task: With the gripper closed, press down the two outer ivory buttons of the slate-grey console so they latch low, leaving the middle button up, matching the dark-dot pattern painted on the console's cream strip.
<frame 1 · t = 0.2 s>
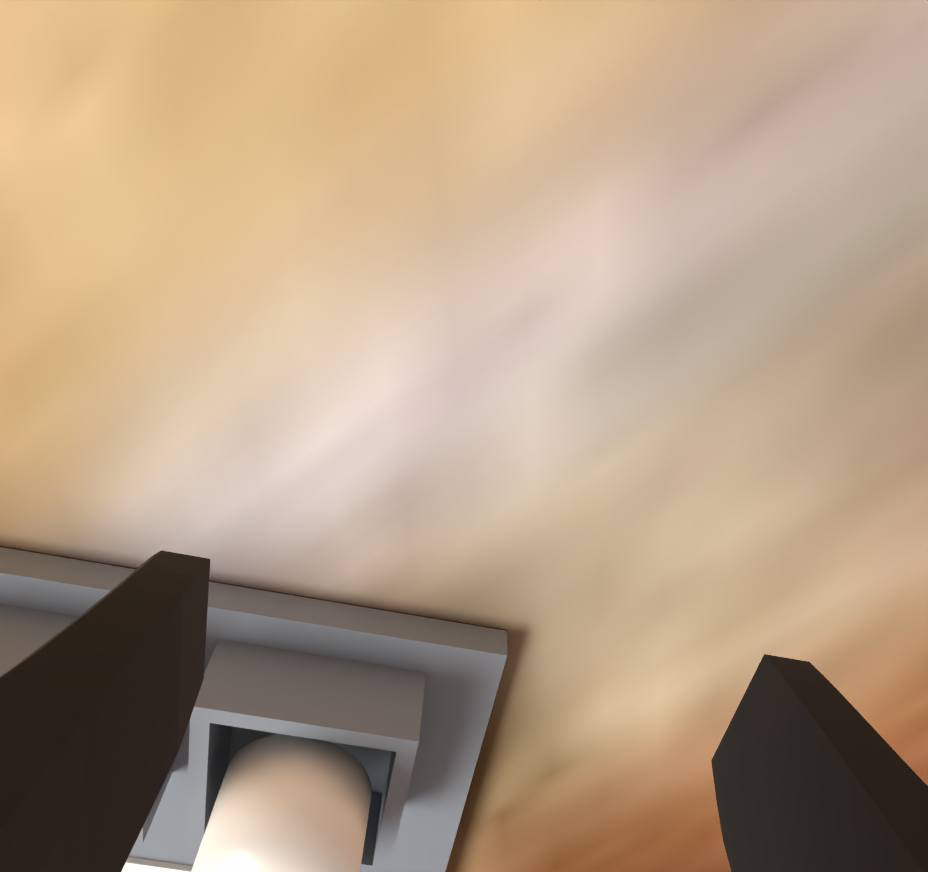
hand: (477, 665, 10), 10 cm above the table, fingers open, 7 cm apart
button 1: (286, 835, 21), point 5 cm above the table, slide at 0.0 cm
console: (94, 775, 27), on the table
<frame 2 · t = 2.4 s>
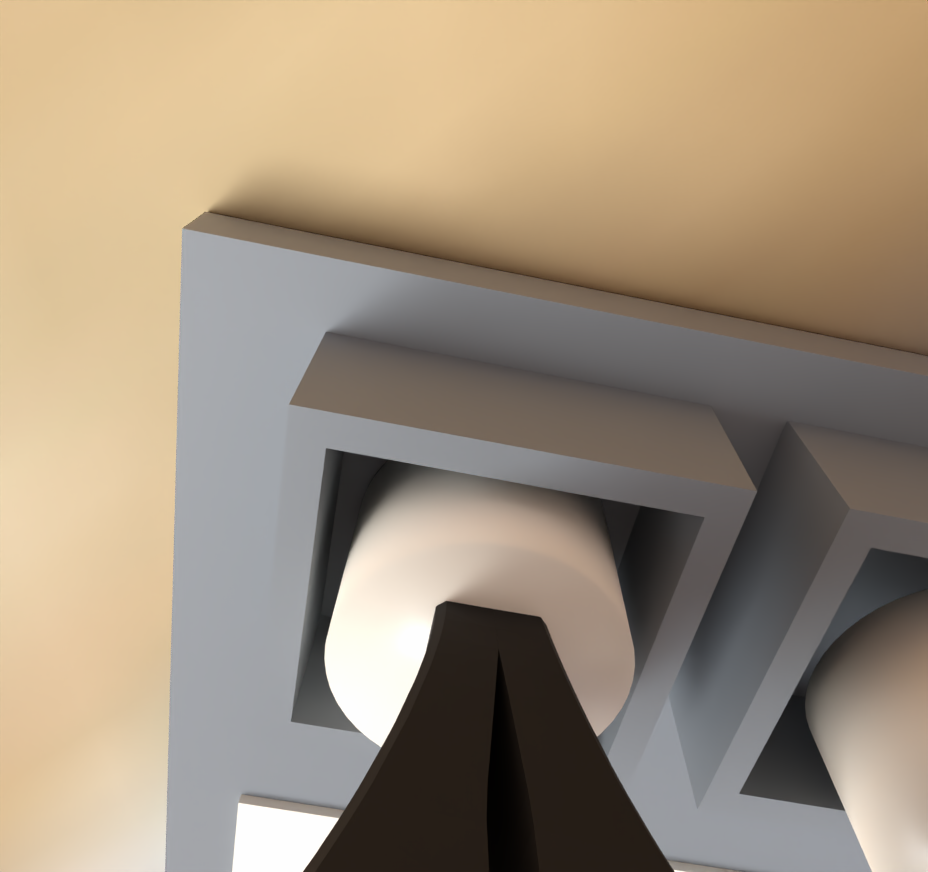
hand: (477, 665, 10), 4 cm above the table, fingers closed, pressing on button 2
console: (761, 752, 17), on the table
button 2: (480, 594, 12), point 3 cm above the table, slide at 1.8 cm, touching gripper
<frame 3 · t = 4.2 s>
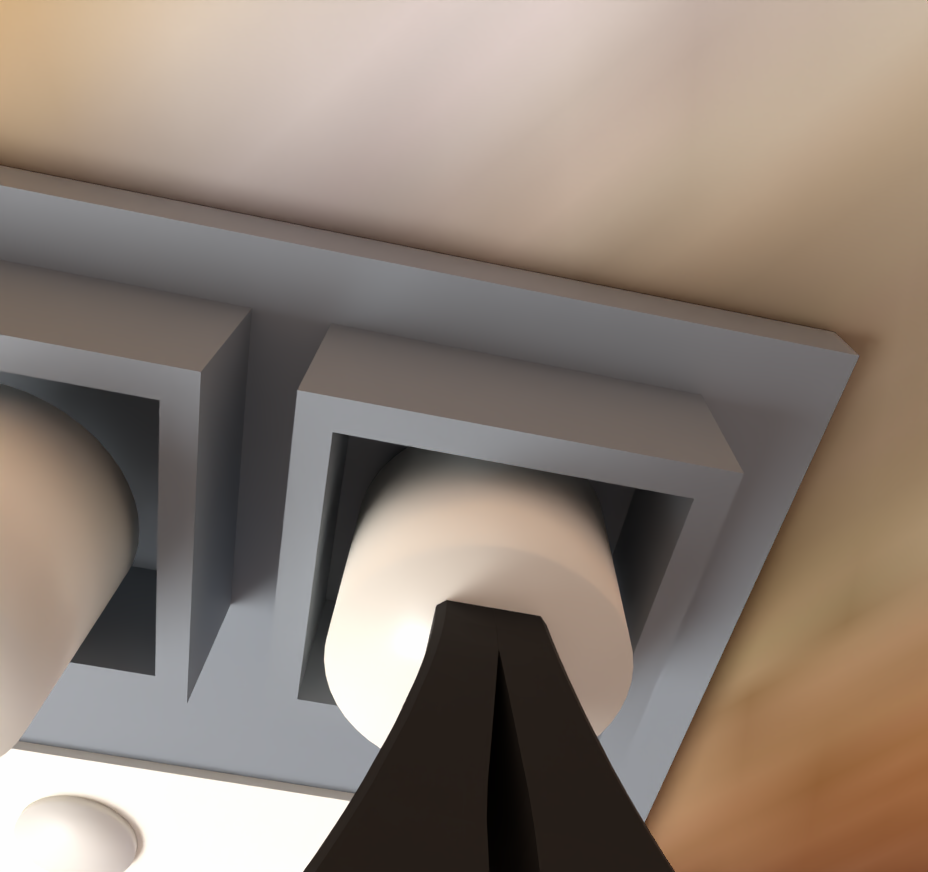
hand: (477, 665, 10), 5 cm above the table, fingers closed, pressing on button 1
button 1: (479, 596, 12), point 3 cm above the table, slide at 1.4 cm, touching gripper
console: (97, 627, 16), on the table
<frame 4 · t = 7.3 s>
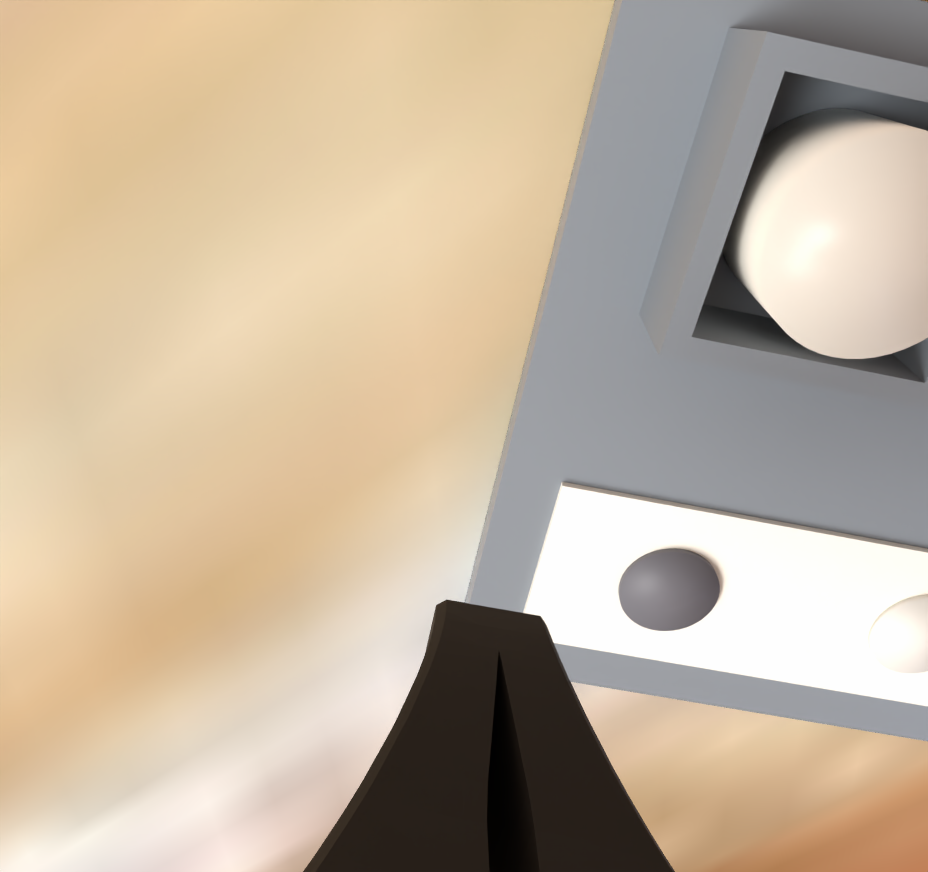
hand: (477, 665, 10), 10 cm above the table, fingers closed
button 2: (845, 230, 15), point 3 cm above the table, slide at 1.8 cm
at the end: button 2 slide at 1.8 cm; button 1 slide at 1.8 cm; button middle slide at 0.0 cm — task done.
